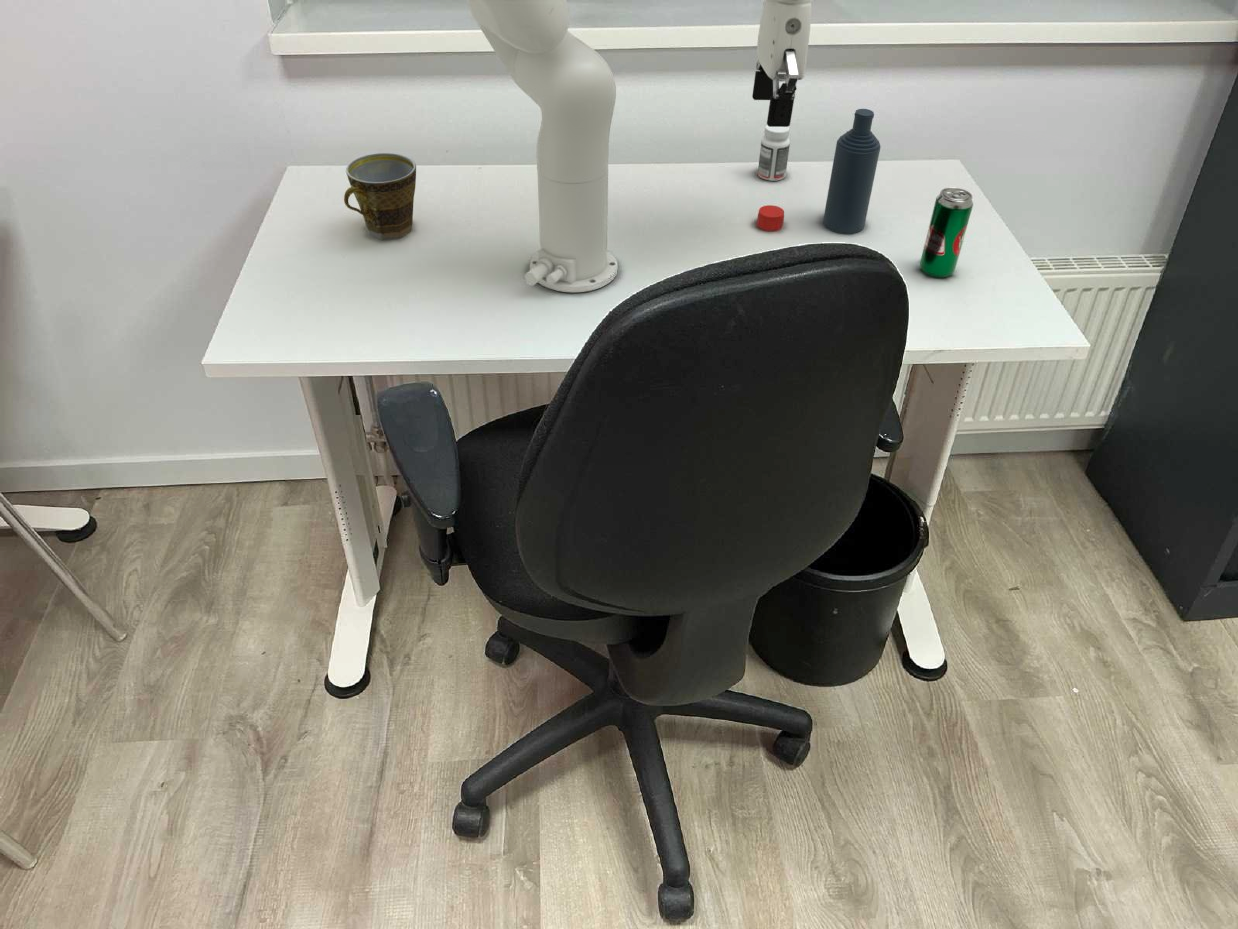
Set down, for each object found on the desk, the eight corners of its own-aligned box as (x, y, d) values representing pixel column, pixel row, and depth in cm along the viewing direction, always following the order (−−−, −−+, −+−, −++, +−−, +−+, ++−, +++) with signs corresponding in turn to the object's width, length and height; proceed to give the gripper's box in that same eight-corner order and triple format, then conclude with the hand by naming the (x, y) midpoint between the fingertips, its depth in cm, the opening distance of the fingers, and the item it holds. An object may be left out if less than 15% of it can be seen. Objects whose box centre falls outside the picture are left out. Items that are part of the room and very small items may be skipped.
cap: (761, 217, 156) (763, 203, 155) (785, 222, 155) (787, 208, 154) (753, 228, 154) (755, 213, 152) (778, 233, 153) (780, 219, 151)
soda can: (911, 264, 146) (930, 188, 138) (940, 259, 148) (961, 183, 140) (931, 281, 143) (951, 204, 135) (961, 275, 144) (982, 199, 136)
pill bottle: (785, 169, 169) (791, 121, 164) (785, 182, 166) (792, 133, 160) (757, 168, 170) (763, 120, 164) (757, 180, 166) (763, 131, 160)
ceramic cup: (386, 208, 156) (377, 146, 149) (436, 225, 152) (430, 163, 146) (328, 242, 148) (316, 179, 141) (380, 261, 144) (370, 197, 137)
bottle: (864, 235, 153) (888, 122, 141) (822, 231, 153) (842, 118, 142) (863, 216, 157) (886, 105, 146) (823, 212, 158) (842, 101, 146)
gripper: (834, 4, 125) (811, 136, 136) (801, -34, 138) (782, 90, 149) (776, 3, 124) (757, 136, 135) (748, -35, 137) (733, 89, 148)
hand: (770, 112), depth 142 cm, fingers open, 9 cm apart
